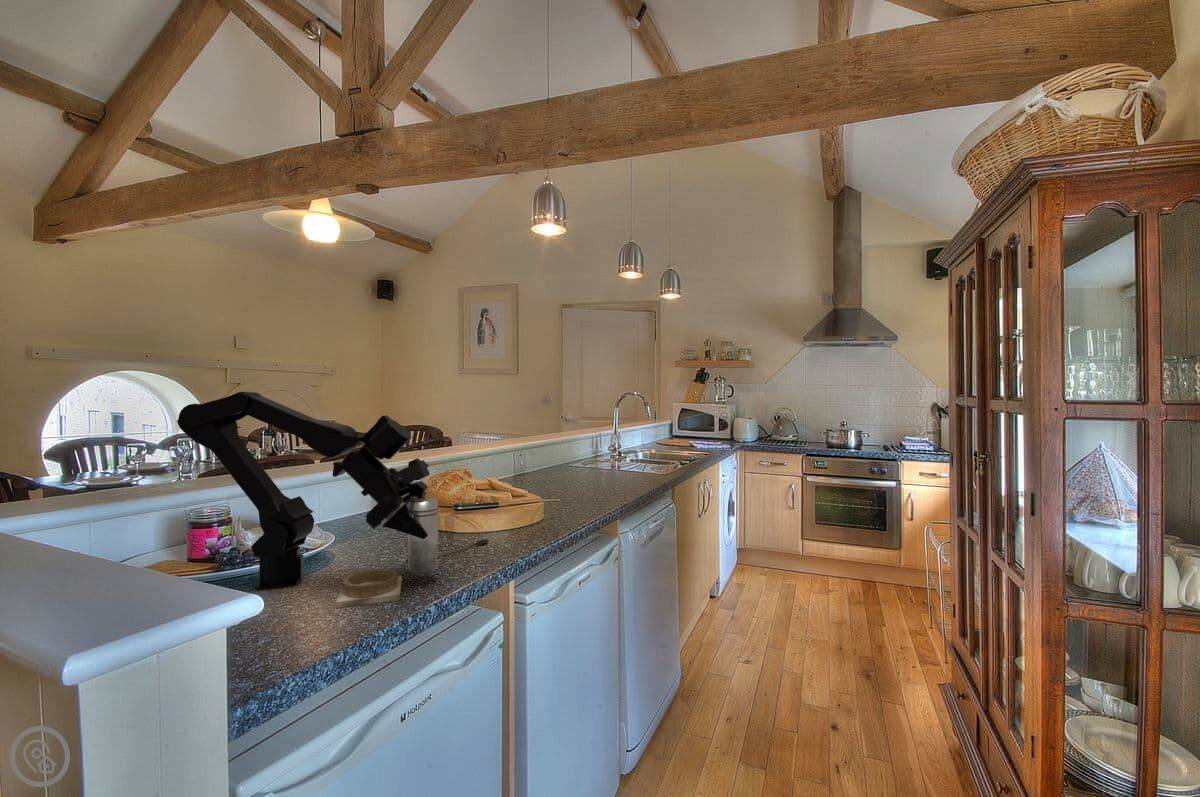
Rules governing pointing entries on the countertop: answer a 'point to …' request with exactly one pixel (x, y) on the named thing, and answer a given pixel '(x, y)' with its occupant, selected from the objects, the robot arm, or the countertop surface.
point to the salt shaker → (425, 550)
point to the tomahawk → (462, 548)
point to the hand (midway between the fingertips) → (430, 533)
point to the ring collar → (369, 588)
